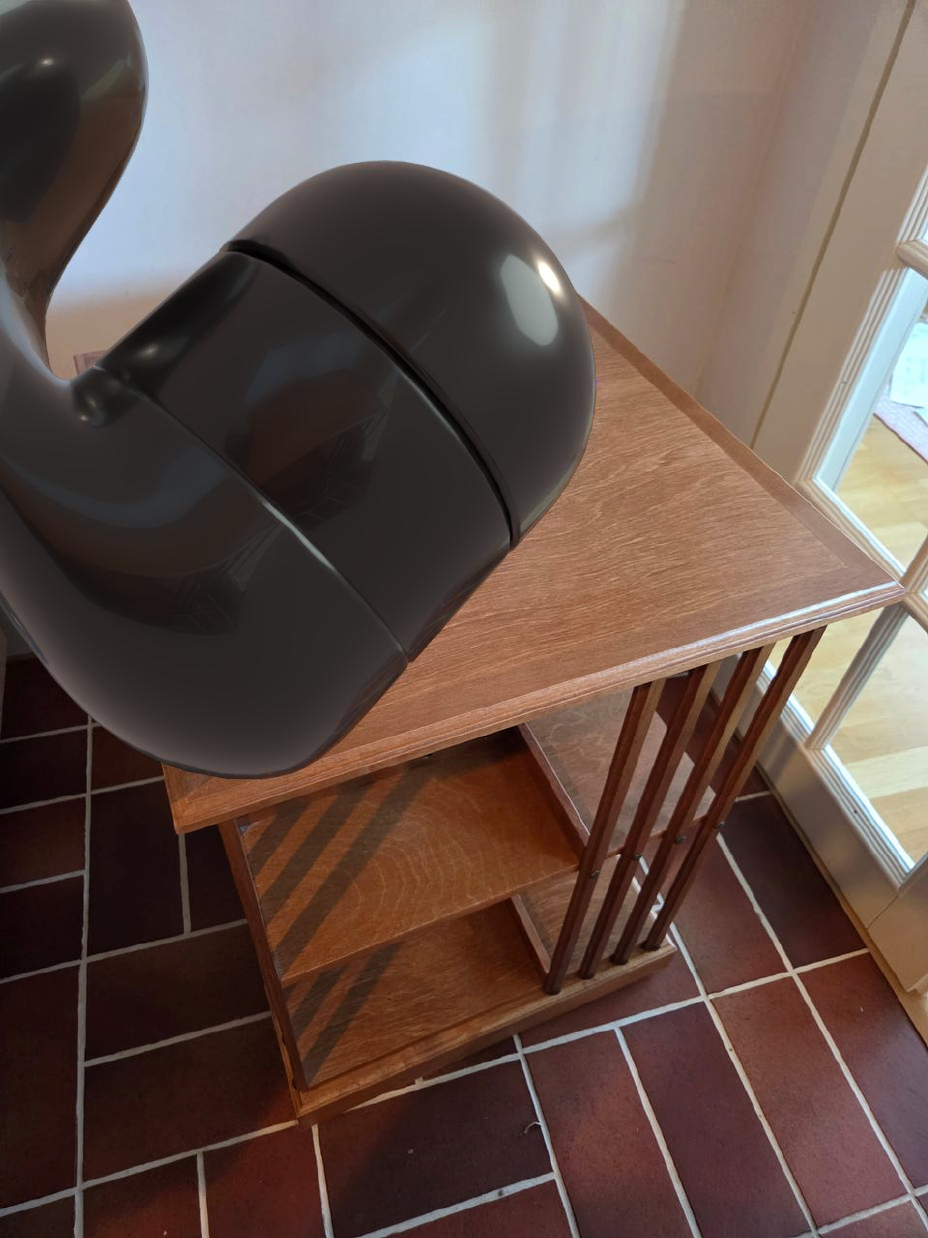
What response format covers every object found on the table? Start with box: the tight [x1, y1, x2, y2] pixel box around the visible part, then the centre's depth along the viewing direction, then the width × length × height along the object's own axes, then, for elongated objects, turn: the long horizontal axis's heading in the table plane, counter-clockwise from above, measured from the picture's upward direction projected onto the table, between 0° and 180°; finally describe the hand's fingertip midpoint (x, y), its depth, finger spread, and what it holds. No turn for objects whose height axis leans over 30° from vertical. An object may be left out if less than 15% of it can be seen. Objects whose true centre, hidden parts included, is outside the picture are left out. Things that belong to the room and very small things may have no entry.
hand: (244, 570), depth 46 cm, fingers open, 8 cm apart
